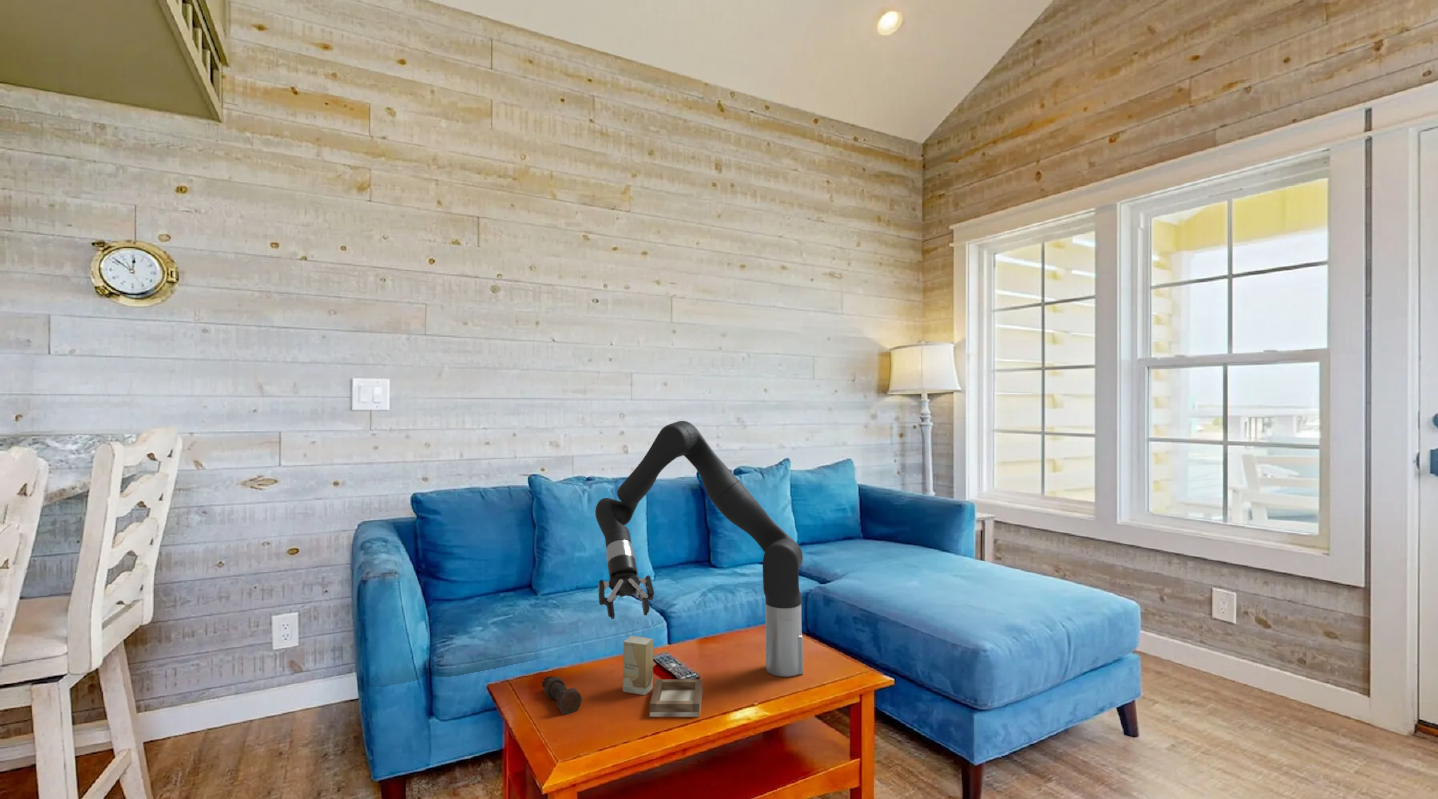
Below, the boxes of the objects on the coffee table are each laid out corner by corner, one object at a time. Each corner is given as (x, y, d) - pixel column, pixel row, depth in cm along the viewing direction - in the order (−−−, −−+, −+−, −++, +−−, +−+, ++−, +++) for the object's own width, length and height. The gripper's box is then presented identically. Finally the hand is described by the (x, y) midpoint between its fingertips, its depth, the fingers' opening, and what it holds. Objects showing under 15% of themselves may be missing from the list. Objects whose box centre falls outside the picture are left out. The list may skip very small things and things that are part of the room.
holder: (702, 691, 158) (702, 679, 158) (699, 716, 145) (699, 703, 145) (656, 691, 159) (656, 679, 159) (649, 716, 146) (649, 703, 146)
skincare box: (622, 692, 158) (621, 641, 158) (630, 684, 162) (629, 635, 162) (646, 695, 156) (646, 644, 156) (654, 688, 160) (653, 637, 160)
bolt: (551, 697, 161) (574, 718, 148) (533, 691, 158) (555, 712, 146) (562, 673, 162) (586, 692, 150) (544, 666, 160) (567, 686, 148)
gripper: (596, 555, 176) (603, 611, 165) (648, 551, 180) (659, 605, 169) (593, 570, 181) (600, 626, 170) (644, 566, 185) (654, 619, 174)
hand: (629, 615), depth 169 cm, fingers open, 8 cm apart
